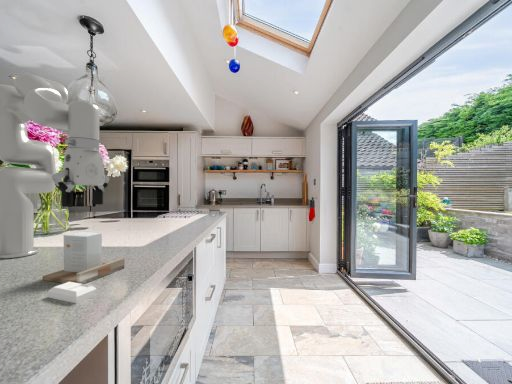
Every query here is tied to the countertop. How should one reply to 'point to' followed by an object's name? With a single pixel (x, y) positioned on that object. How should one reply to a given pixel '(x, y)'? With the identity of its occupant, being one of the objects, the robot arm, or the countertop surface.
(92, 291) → the soap bar
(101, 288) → the countertop surface
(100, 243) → the small box
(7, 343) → the countertop surface
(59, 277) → the shelf board
